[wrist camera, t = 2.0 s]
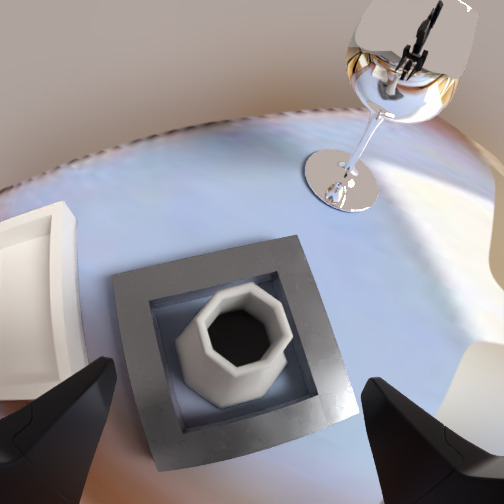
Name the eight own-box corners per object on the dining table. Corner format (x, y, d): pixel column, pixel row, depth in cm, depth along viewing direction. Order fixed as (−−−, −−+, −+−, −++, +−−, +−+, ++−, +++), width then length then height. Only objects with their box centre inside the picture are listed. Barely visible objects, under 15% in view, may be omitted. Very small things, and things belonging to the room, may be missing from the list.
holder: (346, 410, 17) (359, 412, 16) (163, 463, 14) (158, 472, 13) (290, 246, 22) (296, 234, 20) (120, 284, 19) (112, 275, 18)
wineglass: (390, 211, 25) (514, 42, 7) (318, 218, 24) (438, -15, 6) (359, 150, 28) (439, -11, 10) (292, 150, 27) (354, -49, 9)
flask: (156, 338, 18) (102, 295, 9) (243, 283, 21) (265, 202, 12) (217, 427, 16) (218, 472, 7) (304, 365, 19) (380, 346, 10)
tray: (95, 395, 16) (76, 396, 13) (-27, 399, 13) (-49, 396, 10) (77, 220, 21) (63, 200, 18) (-30, 255, 18) (-47, 241, 15)
